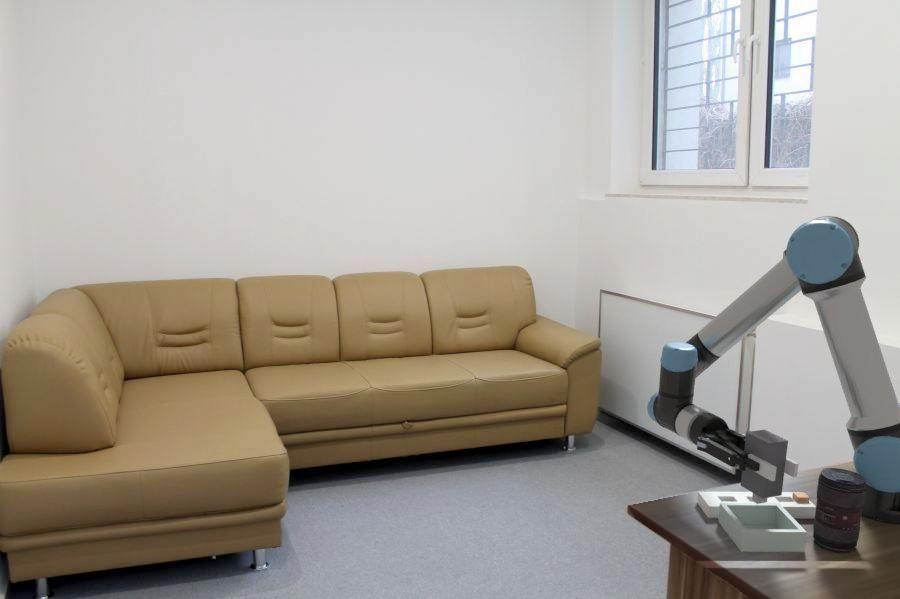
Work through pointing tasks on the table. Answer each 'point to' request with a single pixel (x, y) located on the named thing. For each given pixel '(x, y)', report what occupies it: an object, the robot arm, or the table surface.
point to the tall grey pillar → (771, 452)
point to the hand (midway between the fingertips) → (785, 472)
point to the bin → (762, 527)
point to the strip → (790, 501)
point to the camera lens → (838, 509)
